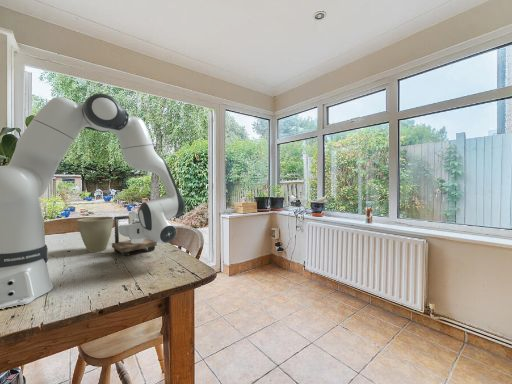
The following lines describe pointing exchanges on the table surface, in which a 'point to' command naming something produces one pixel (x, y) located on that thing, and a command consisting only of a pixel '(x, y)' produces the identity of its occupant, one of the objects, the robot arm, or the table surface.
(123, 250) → the dolly
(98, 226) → the plant pot
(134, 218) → the beer glass
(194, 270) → the table surface
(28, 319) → the table surface
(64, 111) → the robot arm
